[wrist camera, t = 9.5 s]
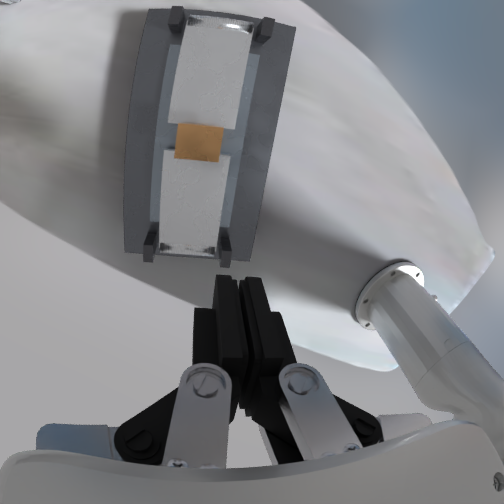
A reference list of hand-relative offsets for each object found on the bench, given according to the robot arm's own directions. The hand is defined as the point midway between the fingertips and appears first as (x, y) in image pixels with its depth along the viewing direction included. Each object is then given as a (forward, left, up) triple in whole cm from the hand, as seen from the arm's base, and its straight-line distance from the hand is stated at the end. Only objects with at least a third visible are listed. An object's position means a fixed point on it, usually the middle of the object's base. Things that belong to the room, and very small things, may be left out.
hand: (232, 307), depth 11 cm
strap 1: (+2, -10, -14) cm, 17 cm away
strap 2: (+2, +1, -14) cm, 14 cm away
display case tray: (+2, -5, -18) cm, 19 cm away
